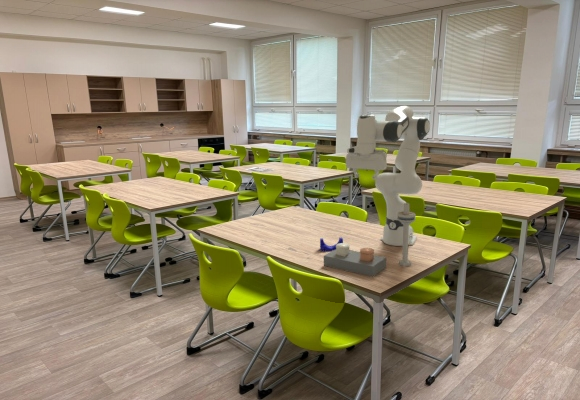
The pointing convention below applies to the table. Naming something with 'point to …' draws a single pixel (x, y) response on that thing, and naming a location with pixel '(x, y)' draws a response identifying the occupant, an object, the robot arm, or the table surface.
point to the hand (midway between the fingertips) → (365, 178)
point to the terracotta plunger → (366, 254)
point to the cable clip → (328, 248)
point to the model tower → (405, 232)
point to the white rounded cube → (342, 249)
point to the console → (355, 263)
